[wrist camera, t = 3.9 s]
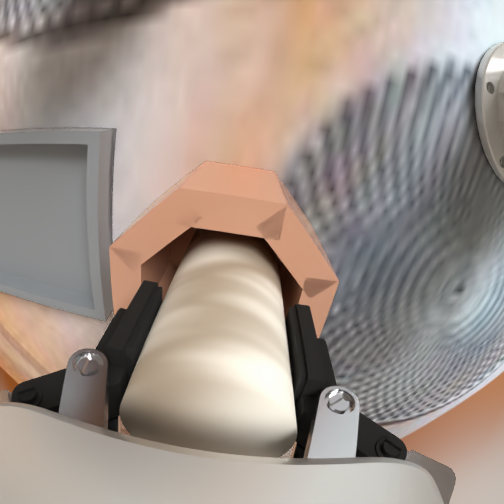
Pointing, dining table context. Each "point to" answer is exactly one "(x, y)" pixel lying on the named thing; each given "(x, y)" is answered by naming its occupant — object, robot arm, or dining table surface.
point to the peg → (217, 355)
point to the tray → (57, 217)
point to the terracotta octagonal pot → (225, 220)
